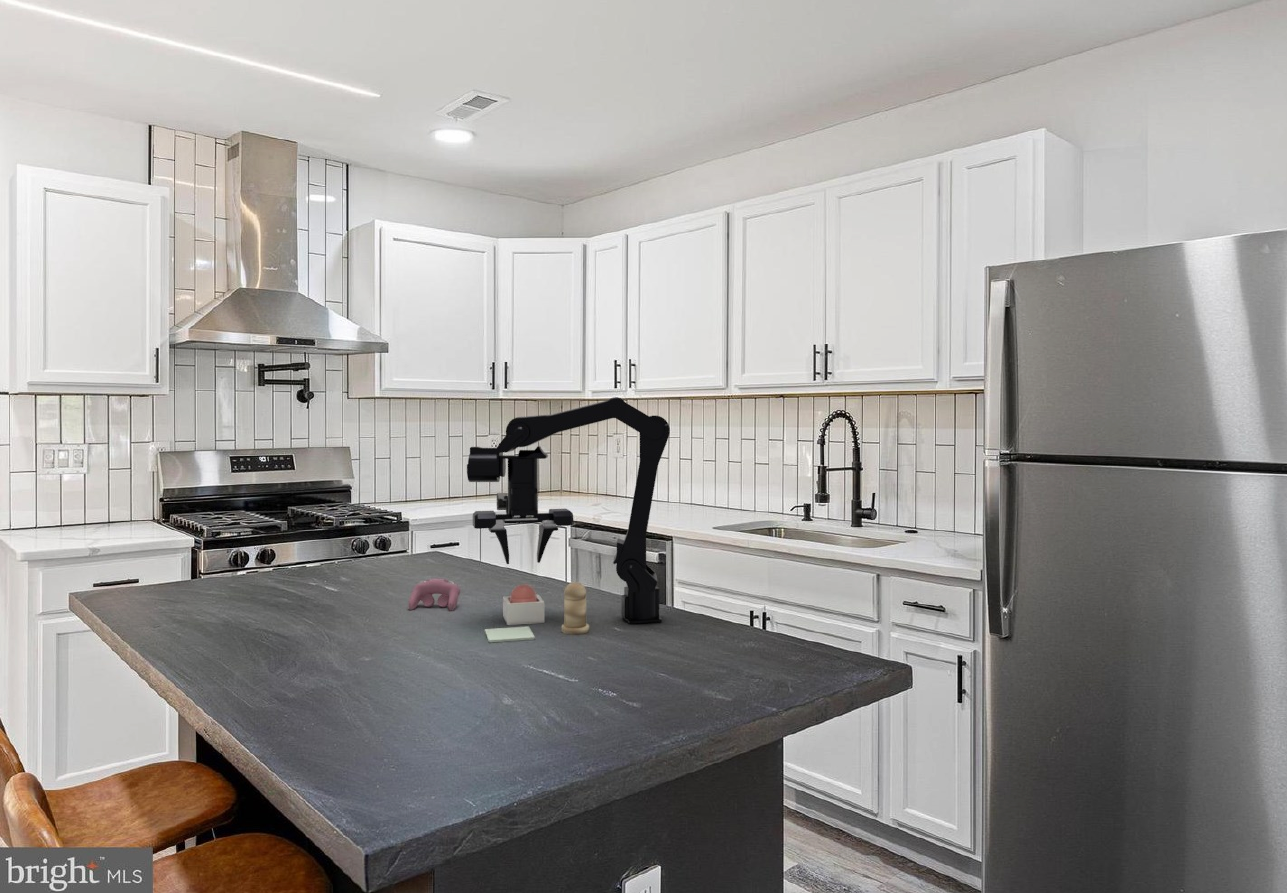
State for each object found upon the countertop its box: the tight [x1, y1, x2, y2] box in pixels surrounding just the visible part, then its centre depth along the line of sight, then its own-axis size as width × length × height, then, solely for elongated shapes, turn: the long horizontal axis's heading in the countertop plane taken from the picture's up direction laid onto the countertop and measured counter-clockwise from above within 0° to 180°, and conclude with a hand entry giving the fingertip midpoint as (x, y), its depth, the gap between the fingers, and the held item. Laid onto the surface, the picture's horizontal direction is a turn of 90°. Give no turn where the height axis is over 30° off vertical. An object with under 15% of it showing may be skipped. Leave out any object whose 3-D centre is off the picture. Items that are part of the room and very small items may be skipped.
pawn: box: [561, 581, 590, 635], centre depth 155 cm, size 5×5×9 cm
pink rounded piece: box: [510, 583, 537, 603], centre depth 164 cm, size 5×5×5 cm
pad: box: [484, 626, 536, 643], centre depth 152 cm, size 8×8×1 cm
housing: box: [502, 594, 545, 626], centre depth 164 cm, size 7×7×4 cm
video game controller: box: [408, 578, 461, 612], centre depth 175 cm, size 10×5×7 cm, turn 84°
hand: (523, 563), depth 163 cm, fingers open, 6 cm apart
